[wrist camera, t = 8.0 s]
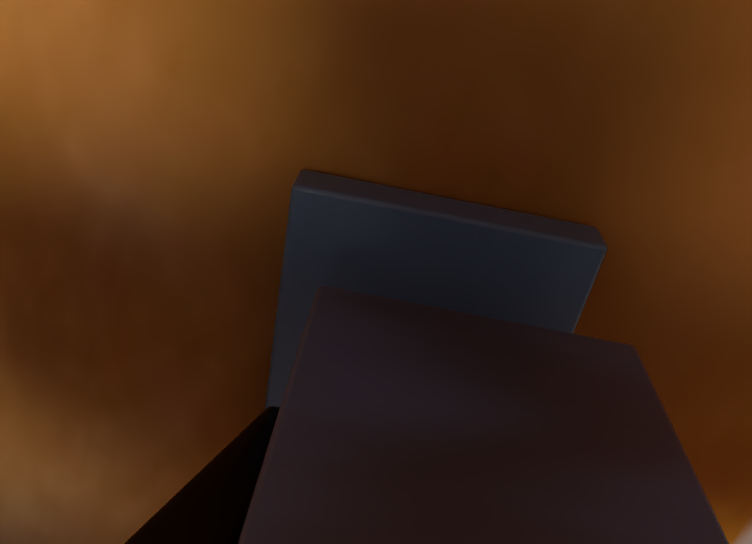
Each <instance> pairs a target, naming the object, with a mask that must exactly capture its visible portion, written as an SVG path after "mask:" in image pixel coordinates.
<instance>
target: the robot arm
mask: <svg viewBox="0 0 752 544" xmlns="http://www.w3.org/2000/svg"><path fill="white" fill-rule="evenodd" d="M279 409H280V407H277V406H270V407H268V408H266V409H265V410H264V411H263V412H262V413H261V414H260V415H259V416H258V417H257V418H256V419H255V420H254V421H253V422H252V423H250V424H249V425H248V426H247V427H246V428H245V429H244V430H243V431H242V432H241V433H240V434H239V435H238V436H237V437H236V438H235V439H234V440H233V441H232V442H230V443H229V444H228V445H227V446H226V447H225V448H224V449H223V450H222V451H221V452H220V453H219V454H218V455H217V456H216V457H215V458H214V459H213V460H212V461H210V462H209V463H208V464H207V465H206V466H205V467H204V468H203V469H202V470H201V471H200V472H199V473H198V474H197V475H196V476H195V477H194V478H193V479H191V480H190V481H189V482H188V483H187V484H186V485H185V486H184V487H183V488H182V489H181V490H180V491H179V492H178V493H177V494H176V495H175V496H174V497H173V498H171V499H170V500H169V501H168V502H167V503H166V504H165V505H164V506H163V507H162V508H161V509H160V510H159V511H158V512H157V513H156V514H155V515H154V516H153V517H151V518H150V519H149V520H148V521H147V522H146V523H145V524H144V525H143V526H142V527H141V528H140V529H139V530H138V531H137V532H136V533H135V534H134V535H133V536H131V537H130V538H129V539H128V540H127V541H126V542H125V543H124V544H238V541H239V538H240V535H241V531H242V528H243V525H244V522H245V518H246V515H247V512H248V509H249V506H250V502H251V499H252V496H253V493H254V489H255V486H256V483H257V480H258V477H259V473H260V470H261V467H262V464H263V461H264V457H265V454H266V451H267V448H268V444H269V441H270V438H271V435H272V432H273V428H274V425H275V422H276V419H277V415H278V412H279Z"/></svg>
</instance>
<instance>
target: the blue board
mask: <svg viewBox="0 0 752 544" xmlns="http://www.w3.org/2000/svg"><path fill="white" fill-rule="evenodd" d="M606 251H607V245H606V243H605V241H604V239H603V238H602V236H601V234H600V232H599V230H598V229H597V228H596V227H593V226H588V225H583V224H578V223H573V222H568V221H563V220H558V219H553V218H547V217H542V216H537V215H532V214H527V213H522V212H517V211H512V210H507V209H502V208H497V207H492V206H487V205H482V204H477V203H471V202H466V201H461V200H456V199H451V198H446V197H441V196H436V195H431V194H426V193H421V192H416V191H411V190H406V189H401V188H395V187H390V186H385V185H380V184H375V183H370V182H365V181H360V180H355V179H350V178H345V177H340V176H335V175H330V174H325V173H319V172H314V171H309V170H301V171H300V172H299V174H298V176H297V178H296V180H295V182H294V184H293V186H292V188H291V196H290V204H289V212H288V220H287V229H286V237H285V245H284V253H283V262H282V270H281V278H280V286H279V295H278V303H277V311H276V319H275V327H274V336H273V344H272V352H271V360H270V369H269V377H268V385H267V393H266V402H265V409H266V408H268V407H270V406H277V407H280V406H281V403H282V399H283V396H284V393H285V390H286V387H287V383H288V380H289V377H290V374H291V370H292V367H293V364H294V361H295V358H296V354H297V351H298V348H299V345H300V341H301V338H302V335H303V332H304V329H305V325H306V322H307V319H308V316H309V312H310V309H311V306H312V303H313V300H314V296H315V293H316V290H317V289H318V287H319V286H321V285H325V286H330V287H336V288H341V289H346V290H351V291H356V292H361V293H367V294H372V295H377V296H382V297H387V298H392V299H398V300H403V301H408V302H413V303H418V304H423V305H428V306H434V307H439V308H444V309H449V310H454V311H459V312H465V313H470V314H475V315H480V316H485V317H490V318H496V319H501V320H506V321H511V322H516V323H521V324H527V325H532V326H537V327H542V328H547V329H552V330H557V331H563V332H568V333H574V330H575V328H576V325H577V323H578V320H579V318H580V315H581V313H582V311H583V308H584V306H585V303H586V301H587V298H588V296H589V293H590V291H591V288H592V286H593V283H594V281H595V278H596V276H597V274H598V271H599V269H600V266H601V264H602V261H603V259H604V256H605V254H606Z"/></svg>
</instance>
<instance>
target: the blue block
mask: <svg viewBox="0 0 752 544" xmlns="http://www.w3.org/2000/svg"><path fill="white" fill-rule="evenodd" d="M238 544H729V543H728V541H727V539H726V537H725V535H724V532H723V530H722V528H721V526H720V524H719V522H718V520H717V518H716V516H715V514H714V511H713V509H712V507H711V505H710V503H709V501H708V499H707V497H706V495H705V493H704V490H703V488H702V486H701V484H700V482H699V480H698V478H697V476H696V474H695V472H694V469H693V467H692V465H691V463H690V461H689V459H688V457H687V455H686V453H685V451H684V449H683V446H682V444H681V442H680V440H679V438H678V436H677V434H676V432H675V430H674V428H673V425H672V423H671V421H670V419H669V417H668V415H667V413H666V411H665V409H664V407H663V404H662V402H661V400H660V398H659V396H658V394H657V392H656V390H655V388H654V386H653V384H652V381H651V379H650V377H649V375H648V373H647V371H646V369H645V367H644V365H643V363H642V360H641V358H640V356H639V354H638V352H637V350H636V348H635V347H634V346H632V345H630V344H625V343H619V342H614V341H609V340H604V339H599V338H594V337H588V336H583V335H578V334H573V333H568V332H563V331H557V330H552V329H547V328H542V327H537V326H532V325H527V324H521V323H516V322H511V321H506V320H501V319H496V318H490V317H485V316H480V315H475V314H470V313H465V312H459V311H454V310H449V309H444V308H439V307H434V306H428V305H423V304H418V303H413V302H408V301H403V300H398V299H392V298H387V297H382V296H377V295H372V294H367V293H361V292H356V291H351V290H346V289H341V288H336V287H330V286H325V285H321V286H319V287H318V289H317V290H316V293H315V296H314V300H313V303H312V306H311V309H310V312H309V316H308V319H307V322H306V325H305V329H304V332H303V335H302V338H301V341H300V345H299V348H298V351H297V354H296V358H295V361H294V364H293V367H292V370H291V374H290V377H289V380H288V383H287V387H286V390H285V393H284V396H283V399H282V403H281V406H280V409H279V412H278V415H277V419H276V422H275V425H274V428H273V432H272V435H271V438H270V441H269V444H268V448H267V451H266V454H265V457H264V461H263V464H262V467H261V470H260V473H259V477H258V480H257V483H256V486H255V489H254V493H253V496H252V499H251V502H250V506H249V509H248V512H247V515H246V518H245V522H244V525H243V528H242V531H241V535H240V538H239V541H238Z"/></svg>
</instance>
